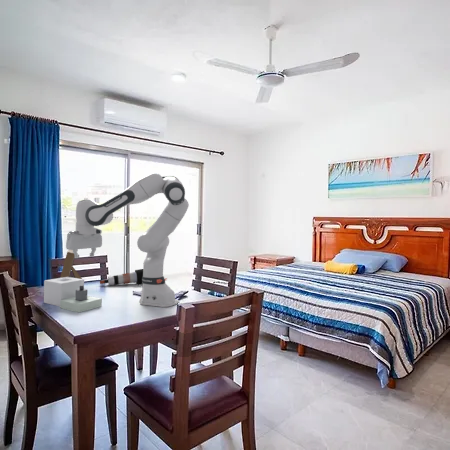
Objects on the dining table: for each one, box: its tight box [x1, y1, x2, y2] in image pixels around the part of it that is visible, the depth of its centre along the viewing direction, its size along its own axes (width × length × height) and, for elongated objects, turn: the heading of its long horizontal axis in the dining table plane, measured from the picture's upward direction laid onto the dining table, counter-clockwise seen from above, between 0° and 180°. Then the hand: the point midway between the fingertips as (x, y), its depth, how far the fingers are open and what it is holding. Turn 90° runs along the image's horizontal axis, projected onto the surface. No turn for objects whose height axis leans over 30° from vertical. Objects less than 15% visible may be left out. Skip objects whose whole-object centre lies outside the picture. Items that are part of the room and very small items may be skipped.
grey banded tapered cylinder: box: [99, 268, 143, 287], centre depth 234 cm, size 10×34×10 cm, turn 111°
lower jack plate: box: [59, 295, 103, 313], centre depth 175 cm, size 14×14×4 cm
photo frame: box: [59, 249, 83, 279], centre depth 215 cm, size 15×22×25 cm
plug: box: [76, 285, 89, 301], centre depth 175 cm, size 4×4×10 cm
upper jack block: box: [43, 276, 85, 307], centre depth 184 cm, size 14×14×12 cm
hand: (84, 257), depth 177 cm, fingers open, 8 cm apart
